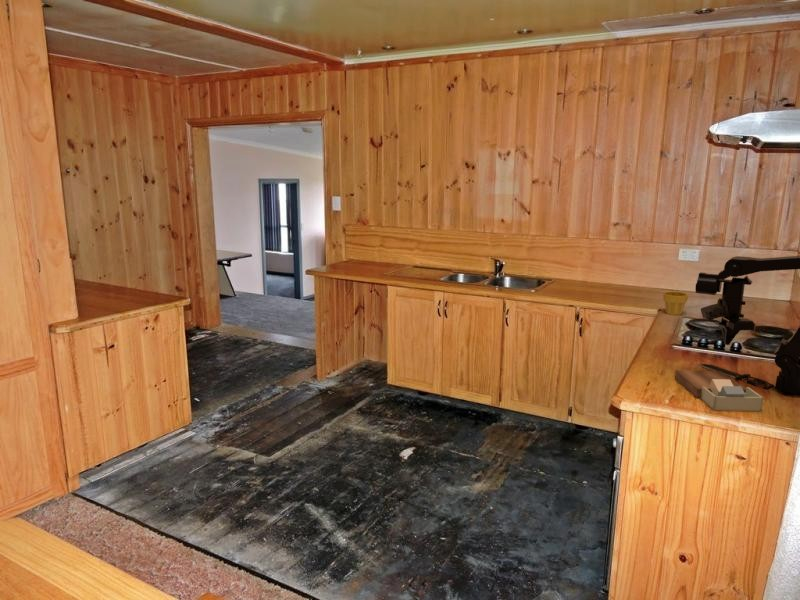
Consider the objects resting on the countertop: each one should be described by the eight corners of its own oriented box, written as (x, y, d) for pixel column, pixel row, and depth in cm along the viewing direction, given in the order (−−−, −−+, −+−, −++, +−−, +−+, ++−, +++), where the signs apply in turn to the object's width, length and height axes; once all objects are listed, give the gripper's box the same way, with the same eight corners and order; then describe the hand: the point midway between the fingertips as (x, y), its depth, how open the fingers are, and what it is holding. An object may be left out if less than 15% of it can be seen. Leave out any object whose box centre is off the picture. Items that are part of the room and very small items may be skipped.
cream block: (726, 386, 164) (729, 379, 162) (733, 399, 160) (736, 392, 158) (709, 386, 165) (712, 379, 163) (715, 398, 161) (718, 391, 159)
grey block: (741, 386, 157) (745, 394, 154) (735, 398, 160) (739, 406, 158) (722, 386, 157) (726, 393, 155) (717, 398, 160) (721, 405, 158)
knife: (695, 366, 193) (695, 362, 193) (709, 363, 195) (710, 360, 195) (761, 391, 170) (762, 387, 170) (777, 388, 172) (777, 384, 172)
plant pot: (665, 315, 259) (667, 295, 257) (659, 310, 269) (660, 291, 267) (689, 316, 258) (691, 296, 255) (681, 311, 268) (683, 291, 265)
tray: (746, 399, 163) (748, 387, 162) (761, 411, 155) (763, 397, 154) (700, 399, 164) (702, 386, 163) (713, 410, 156) (715, 397, 155)
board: (719, 379, 179) (720, 370, 178) (745, 399, 163) (746, 389, 163) (674, 378, 180) (675, 370, 180) (696, 398, 165) (697, 388, 164)
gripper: (692, 290, 183) (688, 336, 186) (720, 303, 164) (714, 353, 168) (727, 290, 182) (722, 336, 185) (759, 303, 163) (752, 353, 167)
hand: (726, 344), depth 176 cm, fingers closed
